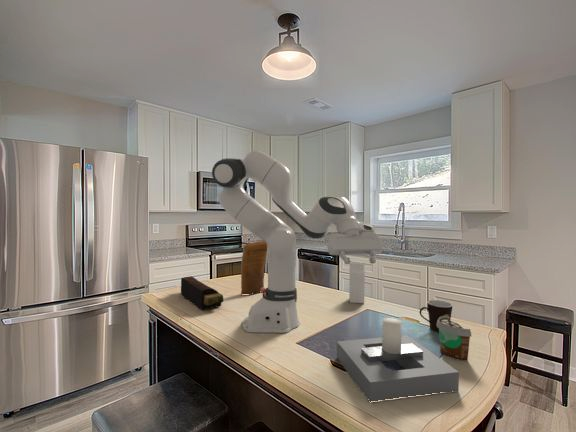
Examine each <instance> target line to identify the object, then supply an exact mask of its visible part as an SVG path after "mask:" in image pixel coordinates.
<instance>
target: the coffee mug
mask: <svg viewBox="0 0 576 432" xmlns="http://www.w3.org/2000/svg"><path fill="white" fill-rule="evenodd" d="M426 305H427V307H426V306H423V307H421V308H420V309H419V312H418V313H419V315H420V317H422V319H424V320H425V321H426V322H428V323H429V329H430V330H431V331H433V332H435V333H439V328H438V327H437V321H438V319H439V317H442V316H447V319H449V320H450V321H451V319H452V312H453V311H452V310H453V306H454V305H453V304H452V303H450V302H449V301H445V300H440V299H431V300H428V301H426ZM425 309H426V310H427V311H428V312H427V313H428V318H426V317H424V315H423V314H422V312H423V310H425Z"/></svg>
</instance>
